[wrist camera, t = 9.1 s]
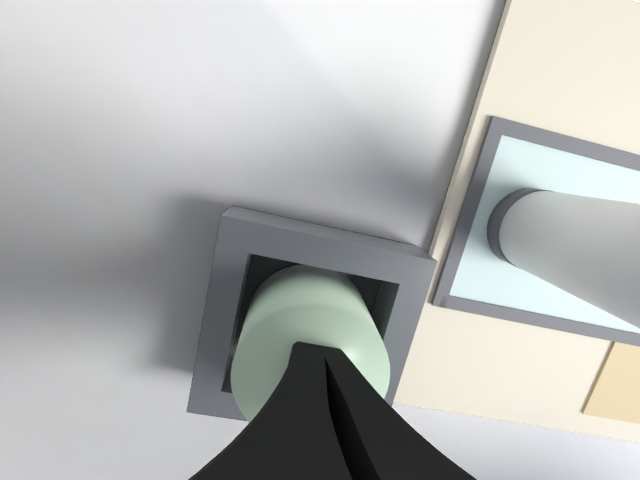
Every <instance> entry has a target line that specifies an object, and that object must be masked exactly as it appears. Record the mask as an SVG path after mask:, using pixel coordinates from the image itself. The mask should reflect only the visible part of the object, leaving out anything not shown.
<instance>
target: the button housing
mask: <svg viewBox="0 0 640 480" xmlns="http://www.w3.org/2000/svg"><path fill="white" fill-rule="evenodd" d="M252 254H255V255H260V256H265V257H270V258H275V259H280V260H285V261H290V262H294V263H299V264H304V265H309V266H314V267H319V268H324V269H329V270H334V271H339V272H344V273H349V274H353V275H358V276H363V277H368V278H373V279H378V280H381V282H380V286H379V289H378V293H377V296H376V300H375V303H374V307H373V310H372V314H371V318H372V320H373V322H374V324H375V326H376V328H377V330H378V333H379V335H380V337H381V339H382V341H383V343H384V345H385V348H386V351H387V353H388V357H389V362H390V382H389V386H388V390H387V393H386V396H385V398H384V400H385V401H386V402H387V403H388V404H389V405H390V406H391V407H392V404H393V401H394V398H395V395H396V391H397V388H398V385H399V382H400V379H401V376H402V372H403V369H404V366H405V363H406V360H407V357H408V353H409V350H410V347H411V344H412V341H413V338H414V335H415V331H416V328H417V325H418V322H419V319H420V316H421V312H422V309H423V306H424V303H425V300H426V297H427V293H428V290H429V287H430V284H431V281H432V278H433V275H434V271H435V268H436V265H437V262H438V261H436V260H435V259H434V258H433V257H431V256H430V255H429V254H427V253H426V252H425V251H423V250H422V249H421V248H419V247H418V246H415V245H411V244H406V243H401V242H397V241H392V240H388V239H383V238H378V237H374V236H369V235H365V234H360V233H355V232H351V231H346V230H342V229H337V228H332V227H328V226H323V225H319V224H314V223H309V222H305V221H300V220H296V219H291V218H286V217H282V216H277V215H273V214H268V213H263V212H259V211H254V210H250V209H245V208H241V207H236V206H231V207H230V208H229V209H228V210H227V211H225V212H224V213H223V214H222V215H221V219H220V225H219V230H218V236H217V242H216V247H215V253H214V259H213V264H212V270H211V276H210V281H209V287H208V293H207V298H206V304H205V310H204V315H203V321H202V327H201V332H200V338H199V344H198V349H197V355H196V361H195V367H194V372H193V378H192V384H191V389H190V395H189V401H188V406H187V412H189V413H196V414H202V415H209V416H216V417H223V418H229V419H236V420H243V421H248V420H247V419H246V418H245V417H244V415H243V414H242V413H241V411H240V410H239V408H238V406H237V404H236V402H235V399H234V396H233V393H232V388H231V367H232V362H233V359H231V355H232V350H233V345H234V340H235V335H236V330H237V325H238V320H239V315H240V310H241V305H242V300H243V295H244V290H245V285H246V280H247V275H248V270H249V265H250V260H251V255H252Z"/></svg>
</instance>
